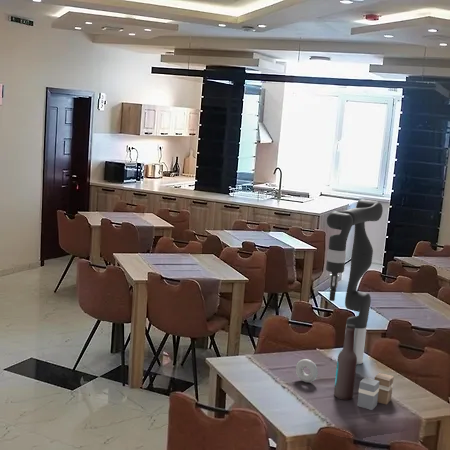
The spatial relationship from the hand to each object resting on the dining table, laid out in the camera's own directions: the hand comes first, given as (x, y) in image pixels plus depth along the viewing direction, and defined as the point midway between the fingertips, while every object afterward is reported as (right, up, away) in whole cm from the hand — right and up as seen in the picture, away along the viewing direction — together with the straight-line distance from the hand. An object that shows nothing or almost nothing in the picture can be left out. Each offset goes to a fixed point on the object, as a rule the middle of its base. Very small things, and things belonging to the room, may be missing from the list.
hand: (331, 300), depth 286 cm
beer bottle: (+3, -38, -11) cm, 39 cm away
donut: (-11, -35, +1) cm, 36 cm away
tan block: (+18, -39, -12) cm, 45 cm away
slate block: (+11, -39, -18) cm, 45 cm away
